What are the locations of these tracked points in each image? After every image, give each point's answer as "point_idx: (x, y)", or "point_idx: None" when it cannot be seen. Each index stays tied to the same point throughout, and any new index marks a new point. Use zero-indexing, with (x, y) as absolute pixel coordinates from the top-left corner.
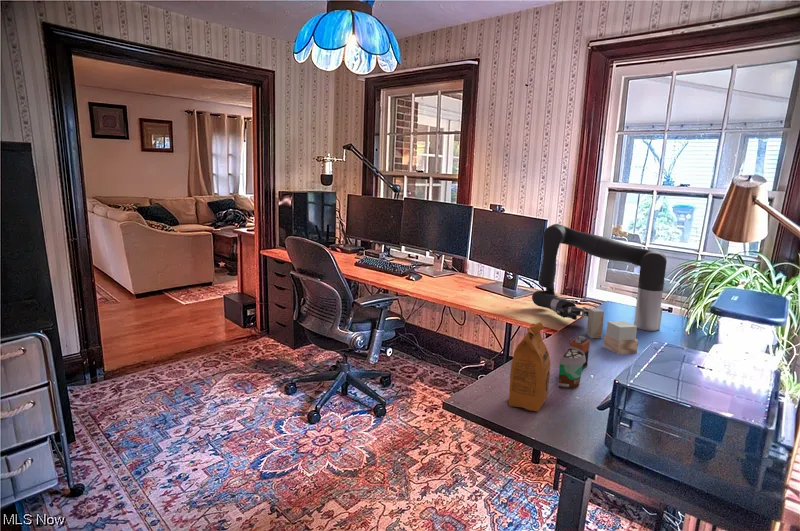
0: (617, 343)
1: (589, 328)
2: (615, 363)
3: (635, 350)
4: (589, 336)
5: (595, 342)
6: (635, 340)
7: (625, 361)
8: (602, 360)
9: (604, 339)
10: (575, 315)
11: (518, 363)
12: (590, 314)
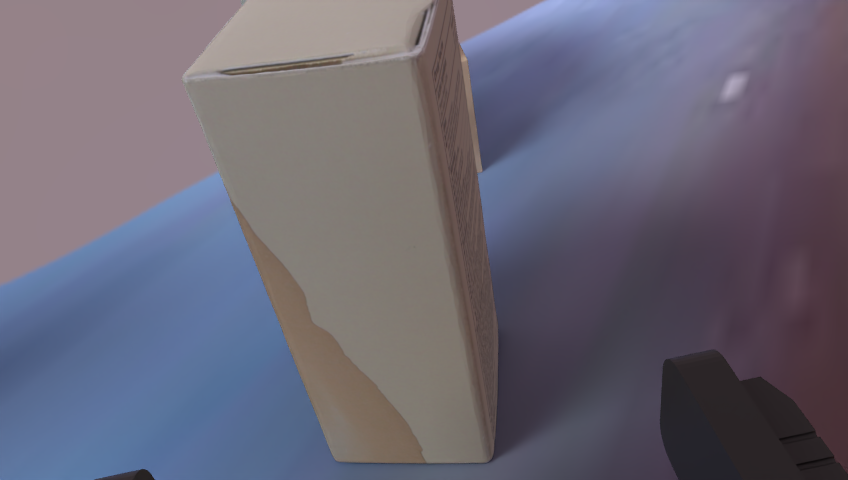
0: None
1: (486, 298)
2: (546, 17)
3: None
4: (497, 365)
5: (512, 229)
6: None
7: (471, 39)
8: (610, 25)
9: (472, 108)
10: (705, 352)
11: None
12: (454, 93)
